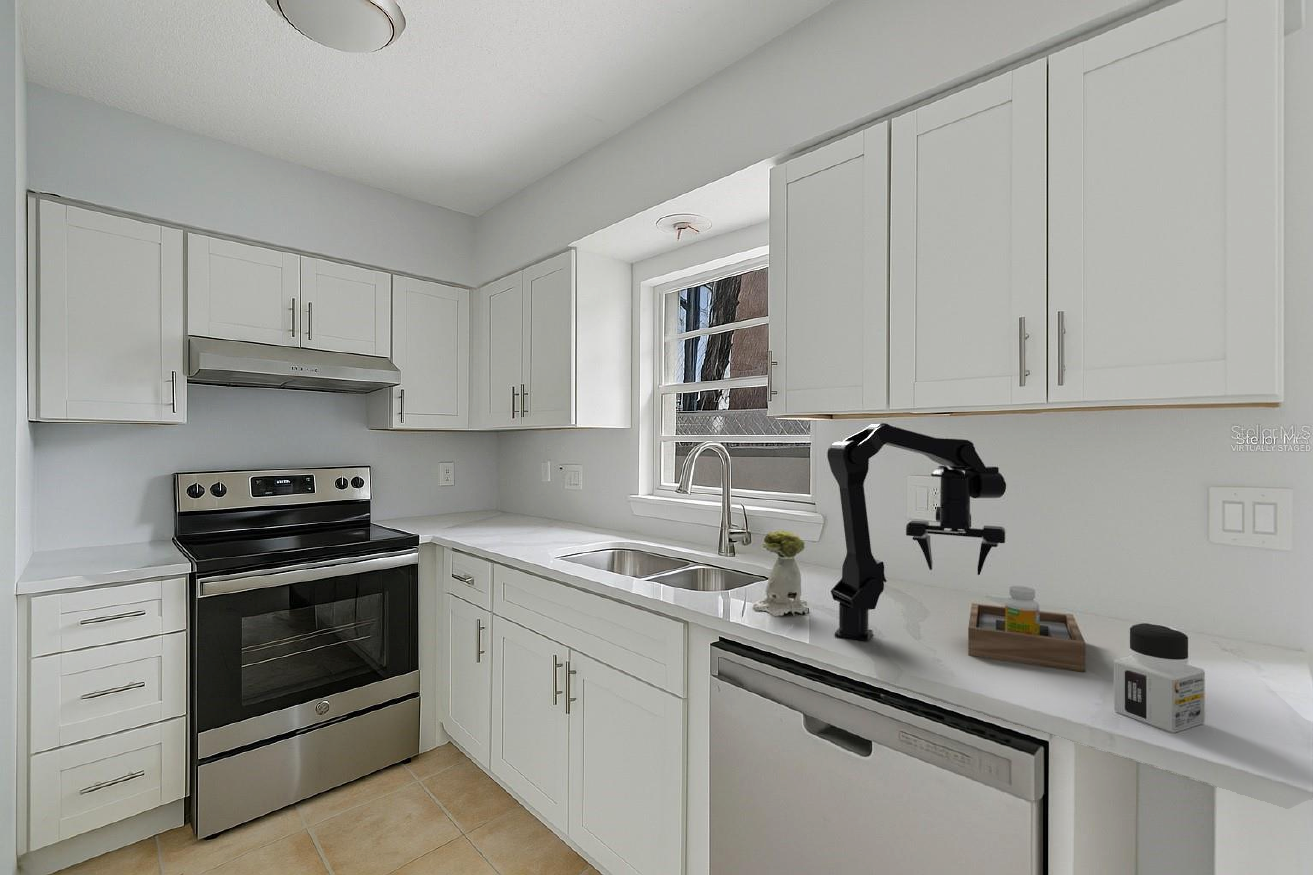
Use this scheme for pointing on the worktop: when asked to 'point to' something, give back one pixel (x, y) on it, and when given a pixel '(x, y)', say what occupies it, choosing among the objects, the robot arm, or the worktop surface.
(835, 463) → the robot arm
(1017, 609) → the supplement bottle
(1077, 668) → the tray
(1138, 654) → the container
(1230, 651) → the worktop surface
